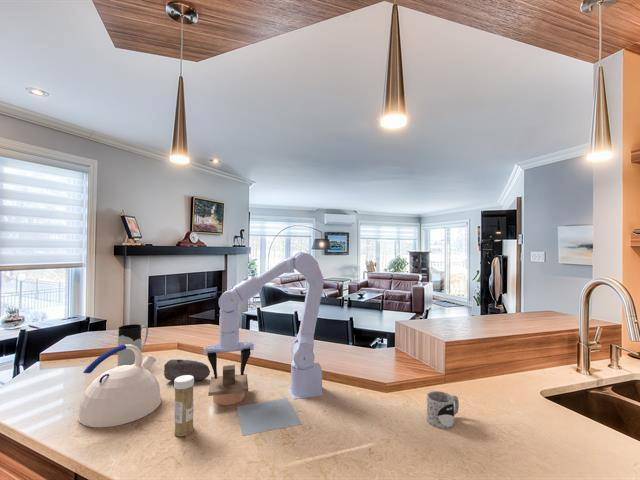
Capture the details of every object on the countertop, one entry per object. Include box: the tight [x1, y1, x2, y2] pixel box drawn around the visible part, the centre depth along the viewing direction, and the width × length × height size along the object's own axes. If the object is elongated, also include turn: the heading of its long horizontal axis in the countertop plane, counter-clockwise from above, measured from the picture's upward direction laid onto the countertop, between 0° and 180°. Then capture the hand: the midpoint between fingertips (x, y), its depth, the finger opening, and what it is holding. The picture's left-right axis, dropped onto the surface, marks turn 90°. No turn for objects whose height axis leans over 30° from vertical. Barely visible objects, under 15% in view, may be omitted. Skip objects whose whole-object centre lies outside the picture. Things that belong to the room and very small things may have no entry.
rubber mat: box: [236, 397, 303, 436], centre depth 89 cm, size 15×15×1 cm
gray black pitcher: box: [116, 324, 149, 367], centre depth 128 cm, size 9×14×15 cm, turn 171°
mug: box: [426, 390, 460, 430], centre depth 87 cm, size 10×7×7 cm
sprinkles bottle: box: [173, 375, 195, 438], centre depth 82 cm, size 5×5×14 cm
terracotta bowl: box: [212, 392, 246, 406], centre depth 99 cm, size 9×9×4 cm
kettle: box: [77, 344, 162, 429], centre depth 94 cm, size 20×21×18 cm
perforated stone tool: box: [163, 359, 211, 382], centre depth 113 cm, size 15×5×7 cm, turn 90°
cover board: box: [207, 364, 249, 397], centre depth 99 cm, size 11×11×6 cm
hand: (229, 375), depth 99 cm, fingers open, 7 cm apart
